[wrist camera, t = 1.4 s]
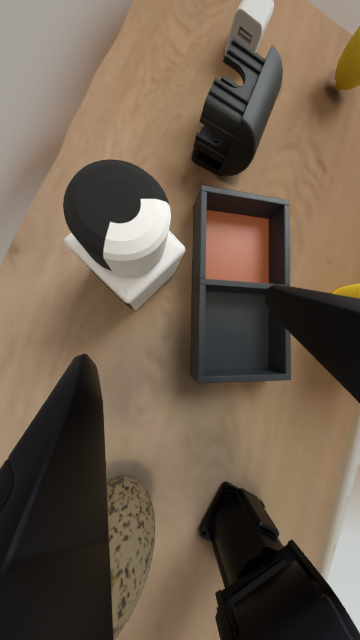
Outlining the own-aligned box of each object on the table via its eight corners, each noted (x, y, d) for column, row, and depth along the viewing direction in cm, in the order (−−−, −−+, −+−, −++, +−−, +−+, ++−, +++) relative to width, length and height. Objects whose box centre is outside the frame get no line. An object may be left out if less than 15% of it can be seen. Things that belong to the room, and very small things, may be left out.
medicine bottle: (90, 269, 20) (10, 188, 9) (134, 231, 21) (118, 113, 10) (134, 312, 21) (116, 292, 9) (175, 273, 22) (206, 211, 10)
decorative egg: (106, 449, 20) (65, 568, 10) (163, 468, 21) (176, 592, 11) (77, 514, 19) (0, 713, 9) (137, 530, 20) (127, 724, 10)
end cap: (235, 188, 24) (267, 136, 18) (189, 162, 23) (205, 96, 17) (257, 131, 25) (296, 60, 19) (214, 103, 24) (239, 18, 18)
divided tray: (270, 372, 24) (291, 380, 20) (190, 374, 22) (198, 383, 18) (270, 217, 25) (289, 199, 22) (193, 205, 23) (201, 184, 20)
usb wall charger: (223, 56, 25) (237, 5, 21) (240, 21, 26) (257, -34, 22) (246, 73, 25) (264, 27, 21) (263, 39, 26) (283, -12, 22)
